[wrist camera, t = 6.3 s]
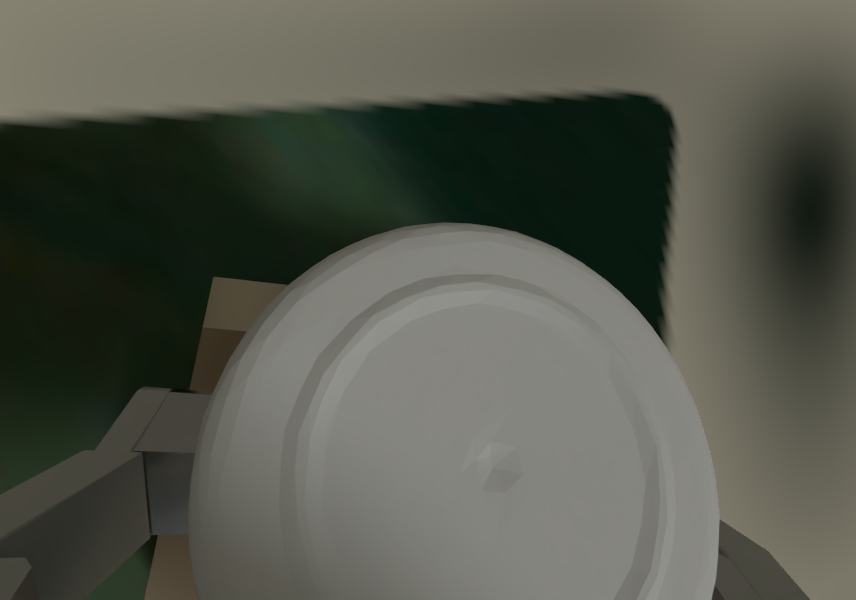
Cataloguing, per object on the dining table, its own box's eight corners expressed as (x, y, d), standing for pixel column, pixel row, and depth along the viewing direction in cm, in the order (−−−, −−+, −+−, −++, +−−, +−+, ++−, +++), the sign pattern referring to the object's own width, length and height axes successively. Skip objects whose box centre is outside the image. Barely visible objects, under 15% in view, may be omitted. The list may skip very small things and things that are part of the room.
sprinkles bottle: (258, 467, 15) (-6, 505, 3) (353, 368, 17) (459, 120, 4) (357, 563, 15) (569, 1093, 2) (443, 453, 17) (817, 436, 4)
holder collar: (177, 625, 13) (124, 689, 10) (236, 317, 16) (213, 276, 13) (483, 614, 15) (538, 664, 11) (482, 341, 18) (523, 311, 15)
